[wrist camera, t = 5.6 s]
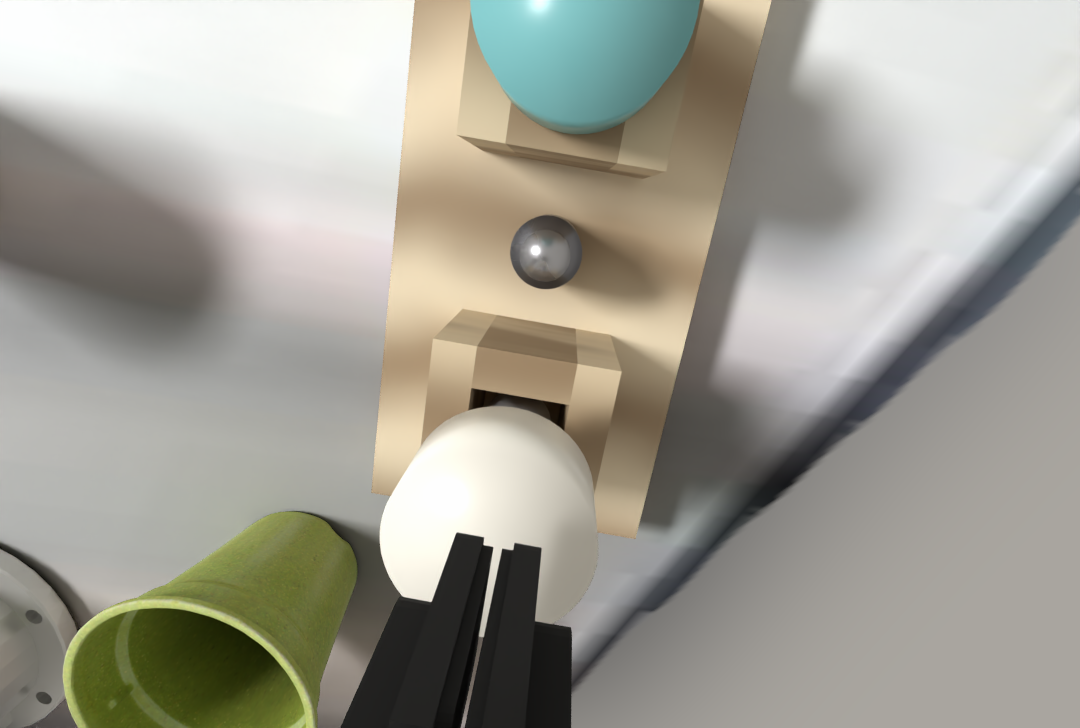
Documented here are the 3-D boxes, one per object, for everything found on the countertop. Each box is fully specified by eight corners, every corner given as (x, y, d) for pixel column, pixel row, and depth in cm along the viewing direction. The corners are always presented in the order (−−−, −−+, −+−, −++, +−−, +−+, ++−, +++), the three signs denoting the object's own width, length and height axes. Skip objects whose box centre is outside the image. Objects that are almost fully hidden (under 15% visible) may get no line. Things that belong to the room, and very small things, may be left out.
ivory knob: (573, 494, 20) (576, 653, 13) (441, 471, 20) (371, 618, 13) (599, 368, 19) (619, 469, 12) (457, 343, 19) (389, 429, 12)
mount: (630, 514, 26) (651, 620, 20) (385, 471, 26) (323, 563, 20) (773, -67, 20) (880, -207, 13) (442, -125, 20) (377, -296, 13)
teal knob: (633, 161, 20) (670, 138, 13) (497, 137, 20) (456, 101, 13) (665, 5, 18) (727, -122, 11) (518, -21, 18) (486, -163, 11)
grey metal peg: (573, 282, 21) (575, 300, 18) (513, 271, 21) (501, 287, 18) (585, 220, 21) (589, 224, 17) (523, 209, 21) (513, 210, 17)
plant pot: (222, 630, 30) (88, 795, 21) (198, 473, 27) (33, 593, 19) (392, 641, 29) (323, 815, 21) (385, 484, 27) (302, 612, 18)
